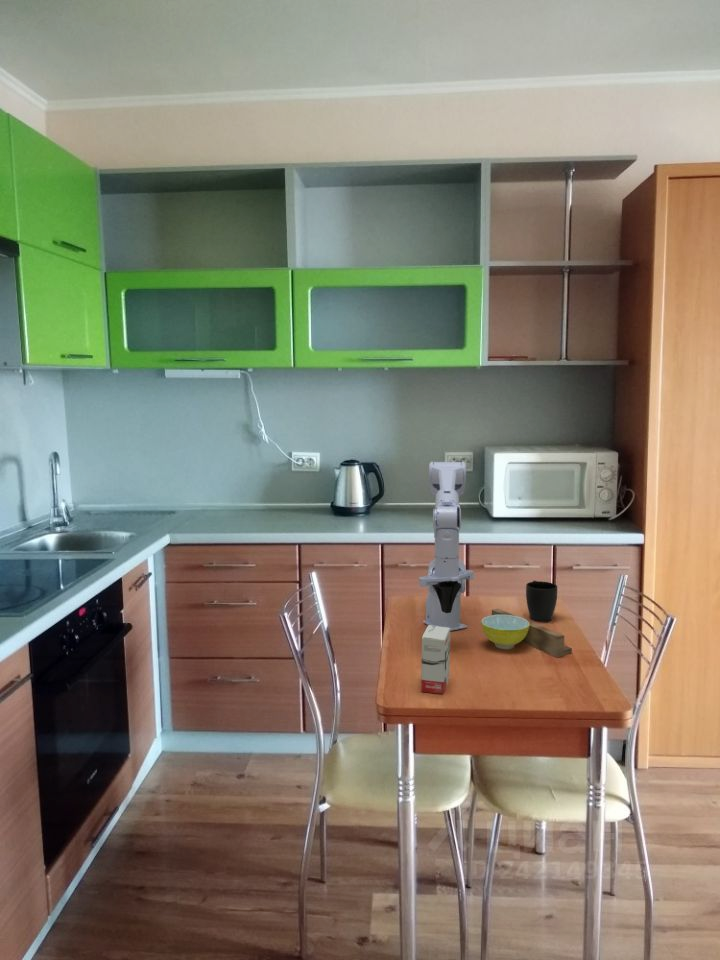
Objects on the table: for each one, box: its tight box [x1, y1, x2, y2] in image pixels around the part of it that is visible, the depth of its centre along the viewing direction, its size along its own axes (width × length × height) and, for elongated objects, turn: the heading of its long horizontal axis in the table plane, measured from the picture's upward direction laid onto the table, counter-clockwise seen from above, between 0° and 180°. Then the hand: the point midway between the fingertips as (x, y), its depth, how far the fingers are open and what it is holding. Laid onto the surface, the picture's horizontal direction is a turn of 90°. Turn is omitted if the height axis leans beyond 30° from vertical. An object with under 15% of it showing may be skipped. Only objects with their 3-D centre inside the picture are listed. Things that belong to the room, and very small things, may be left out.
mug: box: [525, 580, 558, 623], centre depth 191 cm, size 8×12×10 cm
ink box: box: [420, 625, 451, 695], centre depth 146 cm, size 8×5×12 cm, turn 165°
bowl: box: [480, 614, 530, 650], centre depth 169 cm, size 11×12×6 cm
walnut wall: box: [491, 608, 573, 659], centre depth 173 cm, size 24×5×5 cm, turn 28°
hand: (446, 611), depth 166 cm, fingers closed
